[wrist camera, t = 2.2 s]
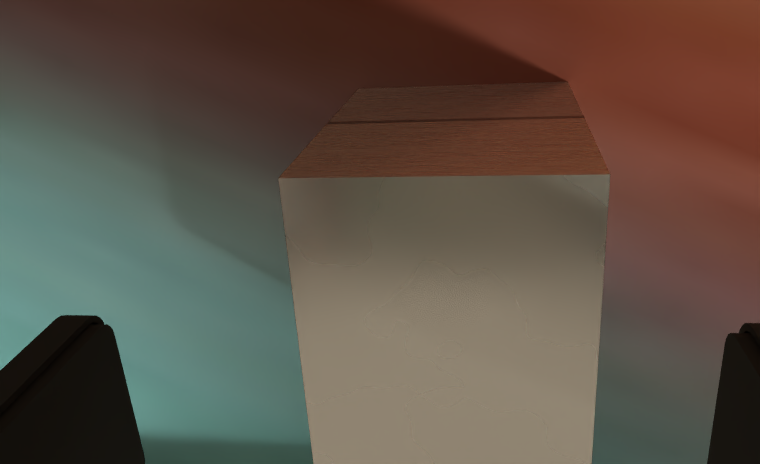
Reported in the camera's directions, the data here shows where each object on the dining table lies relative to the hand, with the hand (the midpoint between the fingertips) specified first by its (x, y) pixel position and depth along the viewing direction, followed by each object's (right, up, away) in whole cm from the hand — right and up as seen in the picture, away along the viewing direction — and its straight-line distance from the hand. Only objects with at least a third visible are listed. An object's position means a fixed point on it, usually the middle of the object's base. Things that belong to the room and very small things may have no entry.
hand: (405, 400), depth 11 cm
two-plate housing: (+2, +3, +8) cm, 8 cm away
